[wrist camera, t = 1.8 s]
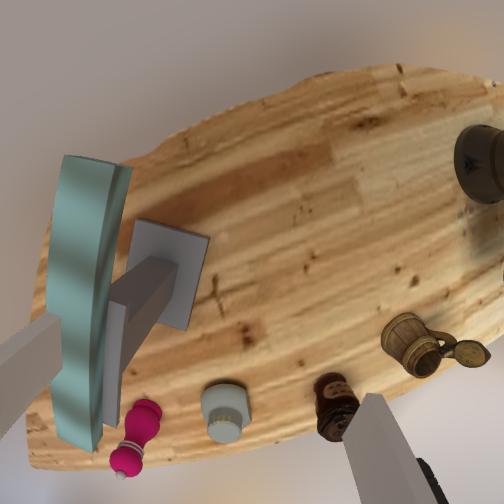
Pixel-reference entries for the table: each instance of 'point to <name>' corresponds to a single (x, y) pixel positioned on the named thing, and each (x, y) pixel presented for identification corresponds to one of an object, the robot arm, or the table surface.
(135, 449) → the pepper mill
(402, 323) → the wooden mug
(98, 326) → the block
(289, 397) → the table surface
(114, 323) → the stand
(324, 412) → the coffee cup
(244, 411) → the air freshener
